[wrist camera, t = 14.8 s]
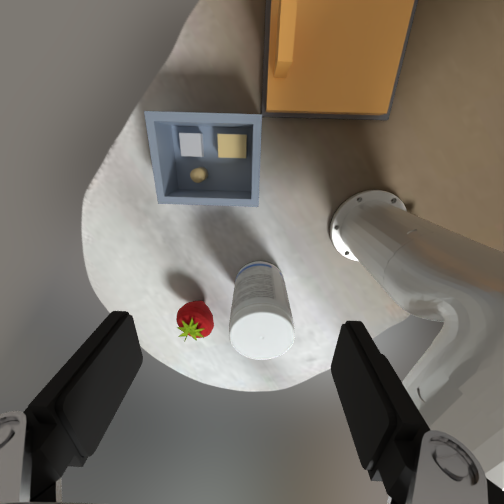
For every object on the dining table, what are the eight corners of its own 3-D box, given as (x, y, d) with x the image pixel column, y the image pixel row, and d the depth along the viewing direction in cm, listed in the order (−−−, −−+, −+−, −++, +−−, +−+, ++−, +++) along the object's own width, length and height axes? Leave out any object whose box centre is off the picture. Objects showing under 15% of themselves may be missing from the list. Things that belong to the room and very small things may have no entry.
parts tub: (261, 120, 33) (262, 114, 26) (258, 196, 37) (258, 206, 31) (166, 117, 33) (143, 111, 26) (174, 193, 37) (158, 203, 31)
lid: (409, -15, 26) (468, -78, 19) (379, 115, 31) (415, 105, 24) (272, -19, 26) (277, -82, 19) (266, 112, 32) (268, 101, 24)
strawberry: (206, 320, 49) (194, 359, 40) (179, 299, 47) (160, 336, 38) (224, 305, 47) (216, 343, 38) (197, 283, 45) (181, 318, 36)
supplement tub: (227, 286, 45) (214, 344, 32) (252, 250, 42) (249, 298, 28) (267, 307, 47) (270, 370, 34) (294, 274, 44) (310, 330, 30)
